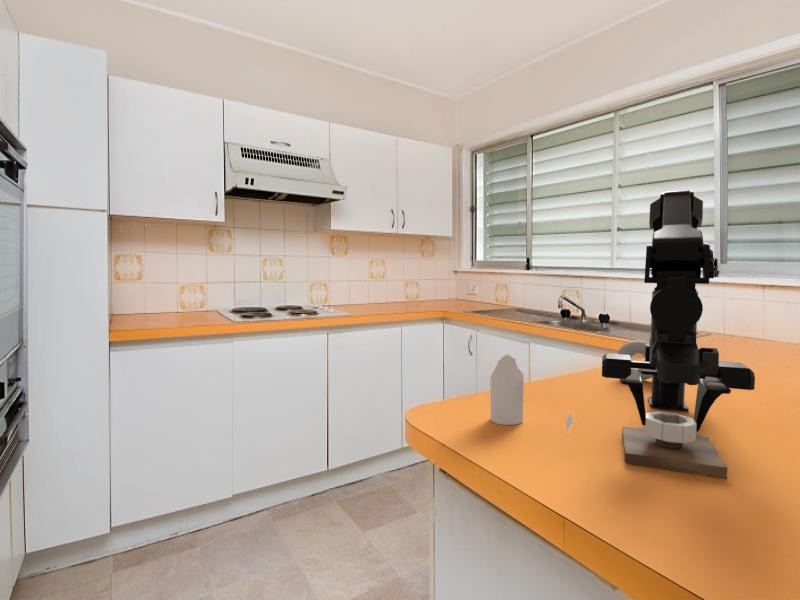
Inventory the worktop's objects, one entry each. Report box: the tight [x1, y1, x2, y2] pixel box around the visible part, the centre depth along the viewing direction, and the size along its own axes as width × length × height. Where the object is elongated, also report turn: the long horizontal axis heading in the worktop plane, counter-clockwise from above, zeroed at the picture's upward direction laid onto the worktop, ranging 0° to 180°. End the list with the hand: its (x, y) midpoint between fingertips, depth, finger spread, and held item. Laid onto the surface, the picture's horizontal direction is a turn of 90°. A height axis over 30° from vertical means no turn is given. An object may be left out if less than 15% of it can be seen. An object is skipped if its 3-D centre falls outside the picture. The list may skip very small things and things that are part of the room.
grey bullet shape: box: [489, 354, 525, 426], centre depth 83 cm, size 6×12×6 cm
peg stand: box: [621, 411, 728, 480], centre depth 68 cm, size 12×12×6 cm
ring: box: [643, 410, 697, 443], centre depth 68 cm, size 6×6×2 cm
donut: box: [616, 339, 652, 381], centre depth 113 cm, size 10×3×10 cm, turn 57°
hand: (669, 427), depth 68 cm, fingers closed on ring, 6 cm apart
